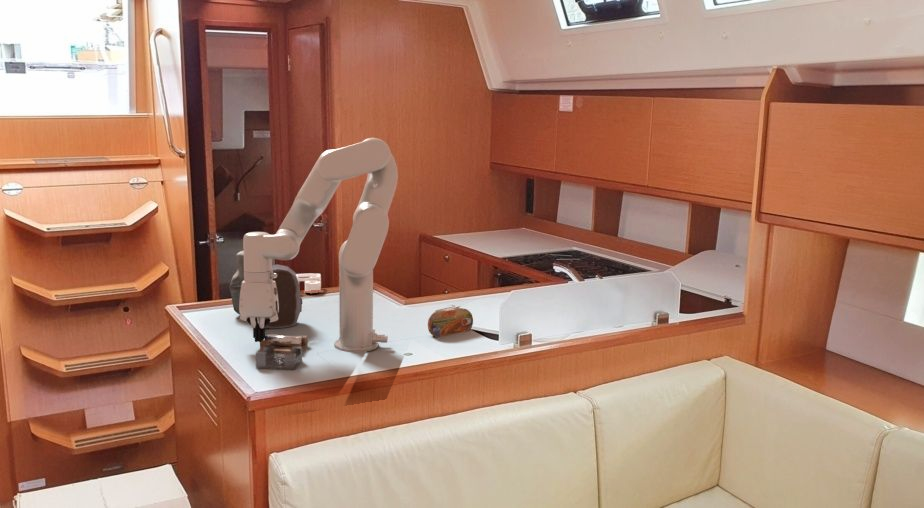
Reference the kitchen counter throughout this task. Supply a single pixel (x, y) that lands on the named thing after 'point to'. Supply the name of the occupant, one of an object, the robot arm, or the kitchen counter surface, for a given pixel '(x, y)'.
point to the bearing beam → (284, 348)
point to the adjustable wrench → (448, 308)
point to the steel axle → (283, 340)
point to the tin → (450, 322)
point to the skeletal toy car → (310, 281)
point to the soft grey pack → (286, 297)
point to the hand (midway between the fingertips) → (259, 340)
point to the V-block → (278, 359)
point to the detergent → (237, 281)
